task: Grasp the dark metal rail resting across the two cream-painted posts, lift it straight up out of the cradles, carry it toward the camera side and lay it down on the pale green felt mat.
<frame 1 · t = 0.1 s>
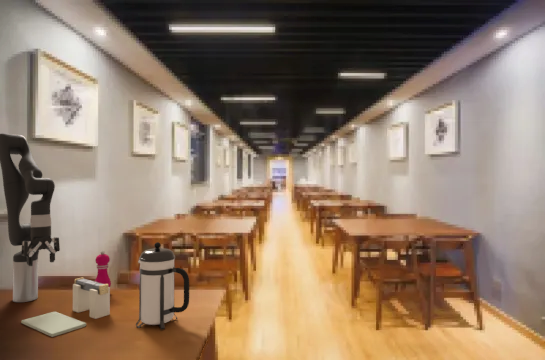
hand: (41, 264, 164), 17 cm above the table, tool pointing down, fingers open, 8 cm apart
coffee press: (160, 324, 144), on the table
rail: (91, 289, 155), point 9 cm above the table, touching post 2, post 1
post 1: (82, 309, 158), on the table
pepper mill: (102, 294, 180), on the table
mat: (53, 324, 142), on the table
post 2: (99, 315, 152), on the table
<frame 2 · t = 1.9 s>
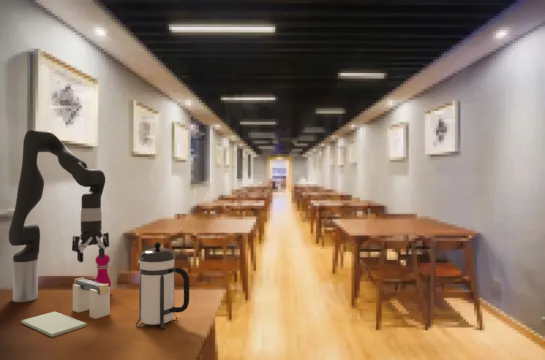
hand: (91, 260, 155), 21 cm above the table, tool pointing down, fingers open, 8 cm apart
nothing on the table moved.
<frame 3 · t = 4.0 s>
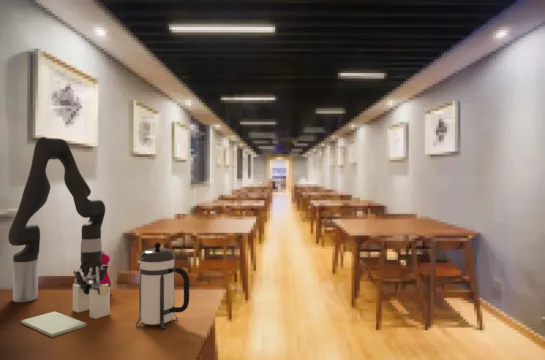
hand: (91, 292, 155), 8 cm above the table, tool pointing down, fingers closed on rail, 3 cm apart
rail: (91, 289, 155), point 9 cm above the table, touching gripper, post 2, post 1
everything else where it was.
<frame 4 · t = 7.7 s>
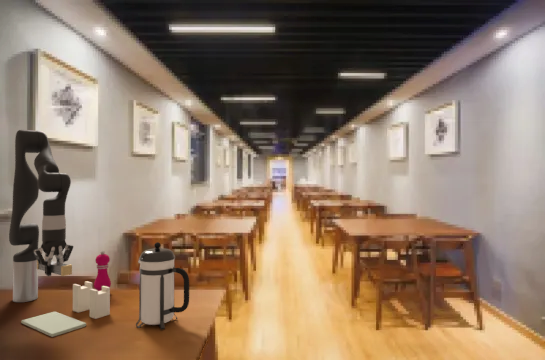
hand: (53, 274, 142), 18 cm above the table, tool pointing down, fingers closed on rail, 3 cm apart
rail: (53, 271, 142), point 19 cm above the table, touching gripper
everything else where it was.
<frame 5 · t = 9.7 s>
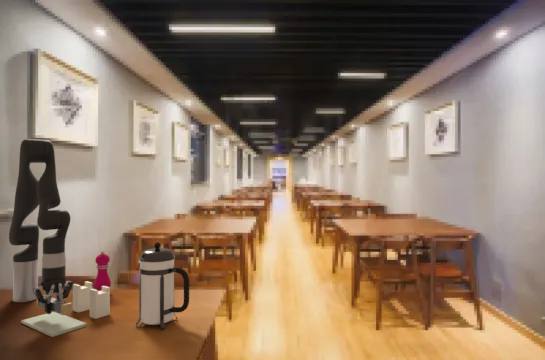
hand: (53, 311, 142), 5 cm above the table, tool pointing down, fingers closed on rail, 3 cm apart
rail: (53, 308, 142), point 6 cm above the table, touching gripper
everything else where it was.
when the fingers open (2 cm above the table, at t = 11.2 s): rail drops 2 cm, resting on mat.
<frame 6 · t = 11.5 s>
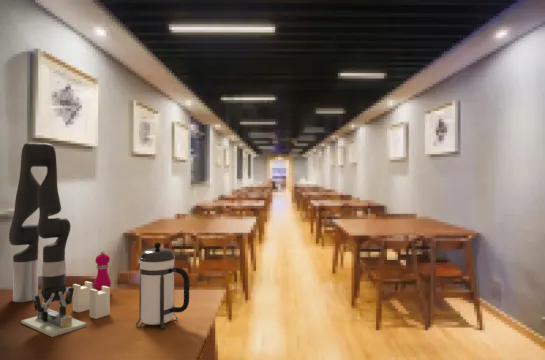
hand: (53, 319, 142), 2 cm above the table, tool pointing down, fingers open, 5 cm apart
rail: (53, 321, 142), point 1 cm above the table, touching mat
everything else where it was.
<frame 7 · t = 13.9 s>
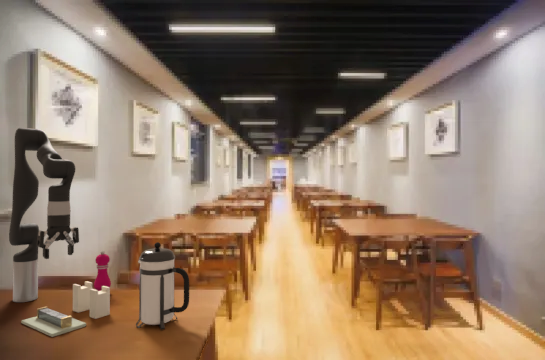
hand: (58, 256, 145), 24 cm above the table, tool pointing down, fingers open, 8 cm apart
nothing on the table moved.
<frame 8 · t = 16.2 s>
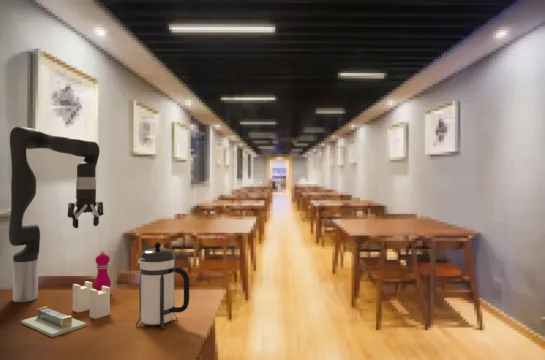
hand: (85, 226, 162), 33 cm above the table, tool pointing down, fingers open, 8 cm apart
nothing on the table moved.
at the end: rail inside the target area (0.1 cm from its centre), point 1.1 cm above the table; the gripper is holding nothing; rail touching mat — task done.
